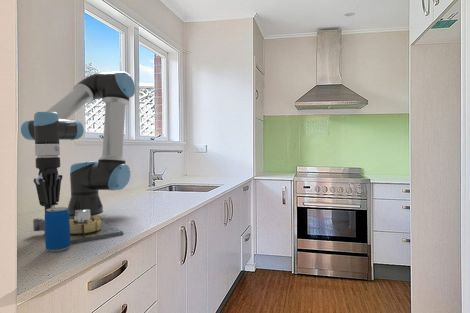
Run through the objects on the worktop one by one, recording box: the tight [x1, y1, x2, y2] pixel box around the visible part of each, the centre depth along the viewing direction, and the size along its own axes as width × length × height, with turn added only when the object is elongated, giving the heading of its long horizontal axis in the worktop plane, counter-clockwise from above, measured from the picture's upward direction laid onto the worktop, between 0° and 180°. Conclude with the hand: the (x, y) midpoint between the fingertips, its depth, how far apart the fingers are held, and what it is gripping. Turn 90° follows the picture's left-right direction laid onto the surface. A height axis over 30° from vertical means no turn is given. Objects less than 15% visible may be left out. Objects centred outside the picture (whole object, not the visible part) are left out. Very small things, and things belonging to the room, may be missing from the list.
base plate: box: [70, 209, 124, 245], centre depth 120 cm, size 20×20×8 cm
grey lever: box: [32, 214, 102, 234], centre depth 120 cm, size 22×11×4 cm, turn 90°
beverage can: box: [44, 206, 71, 253], centre depth 103 cm, size 6×6×12 cm
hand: (50, 224), depth 122 cm, fingers closed
